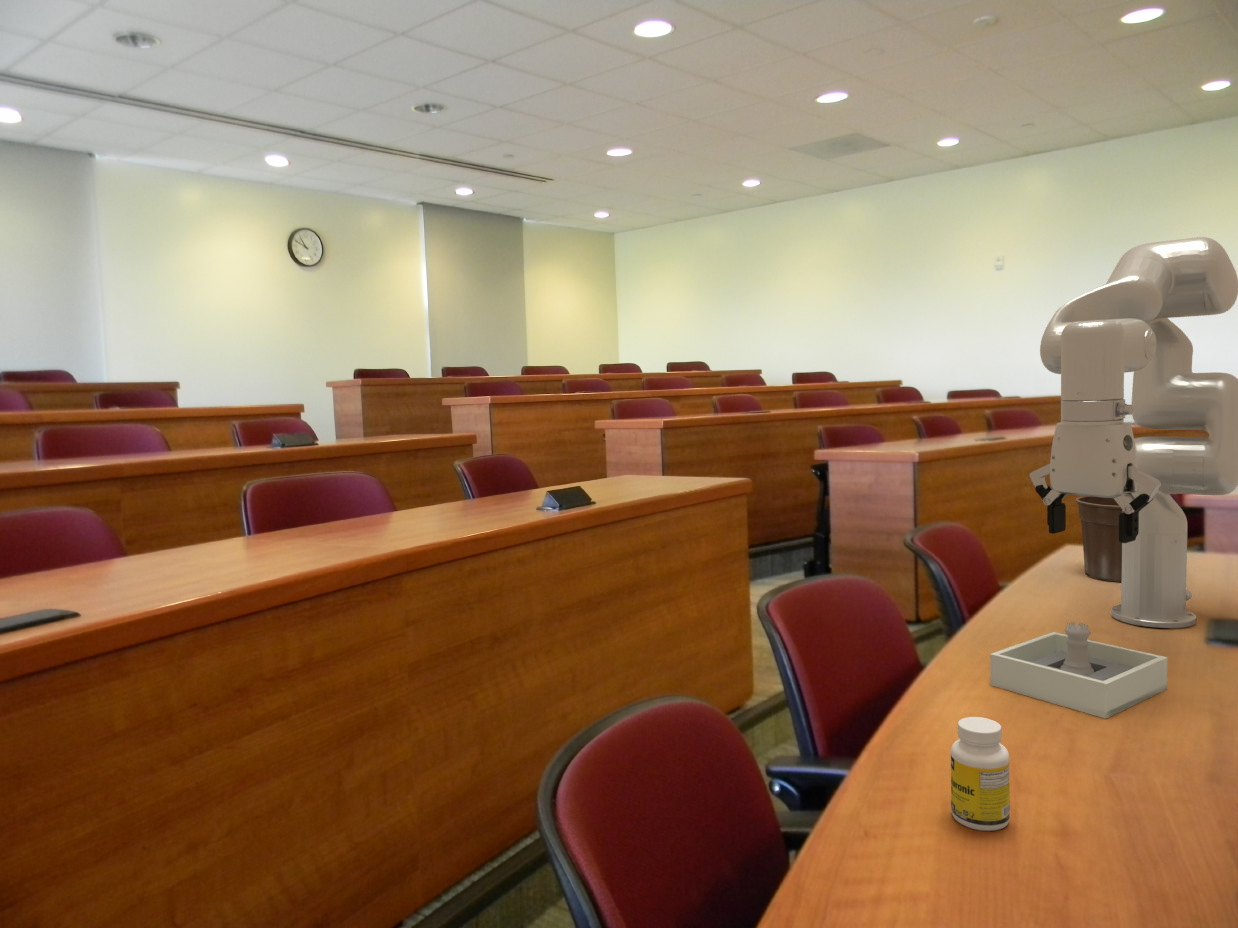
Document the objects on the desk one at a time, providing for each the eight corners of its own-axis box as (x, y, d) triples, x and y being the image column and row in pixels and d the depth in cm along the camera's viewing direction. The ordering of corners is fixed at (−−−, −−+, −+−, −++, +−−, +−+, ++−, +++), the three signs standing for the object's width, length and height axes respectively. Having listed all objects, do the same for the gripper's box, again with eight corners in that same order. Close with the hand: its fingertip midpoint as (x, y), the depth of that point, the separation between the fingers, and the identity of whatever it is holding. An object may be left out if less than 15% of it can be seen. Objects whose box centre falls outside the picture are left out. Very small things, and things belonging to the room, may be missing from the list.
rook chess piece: (1100, 687, 119) (1100, 629, 118) (1064, 686, 120) (1064, 629, 119) (1089, 676, 123) (1090, 620, 122) (1055, 675, 124) (1055, 620, 123)
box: (1052, 660, 132) (1053, 631, 132) (1166, 689, 119) (1167, 657, 119) (990, 684, 123) (990, 653, 123) (1105, 718, 110) (1106, 683, 110)
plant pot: (1171, 573, 183) (1173, 497, 181) (1157, 589, 171) (1158, 507, 169) (1085, 565, 193) (1086, 493, 192) (1066, 579, 181) (1066, 502, 180)
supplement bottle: (941, 807, 90) (941, 715, 89) (992, 803, 90) (992, 711, 89) (966, 834, 84) (966, 736, 83) (1020, 830, 85) (1021, 732, 84)
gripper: (1174, 411, 113) (1172, 541, 115) (1046, 410, 128) (1046, 525, 130) (1144, 416, 109) (1143, 550, 111) (1016, 414, 124) (1016, 532, 126)
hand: (1091, 536), depth 121 cm, fingers open, 9 cm apart
